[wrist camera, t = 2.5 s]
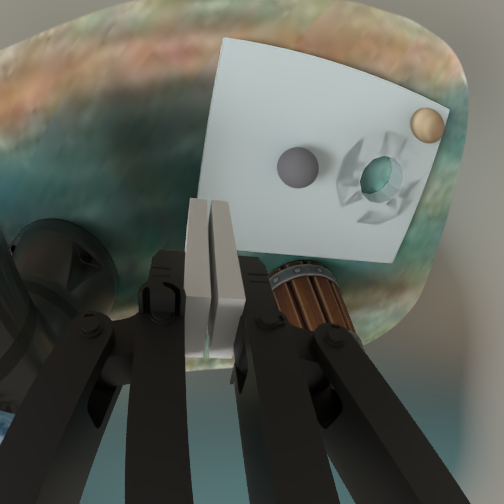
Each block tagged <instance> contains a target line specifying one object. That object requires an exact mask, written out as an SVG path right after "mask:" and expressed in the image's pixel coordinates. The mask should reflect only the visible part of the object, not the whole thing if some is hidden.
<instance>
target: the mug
mask: <svg viewBox="0 0 504 504" xmlns="http://www.w3.org/2000/svg"><path fill="white" fill-rule="evenodd" d="M268 278H269V281H270V285H271V288H272V291H273V295H274V298H275V302H276V305H277V309H278V310H279V311H281V312H282V313H283V314H284V315H285V316H286V317H287V319H288V321H289V323H290V324H292V325H294V326H297V327H299V328H303V329H307V330H311V331H315V329H316V328H317V327H318V325H321V324H323V323H334V324H338V325H340V326H342V327H344V328H346V329H347V330H348V331H349V332H350V333H351V334H352V336H353V337H354V338H355V340H356V341H357V342H358V344H359V345H360V346H361V348H362V349H363V350H364V348H363V345H362V342H361V340H360V338H359V336H358V335H357V334H356V332H355V329H354V327H353V324H352V321H351V319H350V316H349V314H348V311H347V309H346V306H345V303H344V301H343V298H342V294H341V289H340V287H339V284H338V282H337V280H336V278H335V277H334V275H333V274H332V273H331V271H330V270H329V269H328V268H327V267H324V266H322V265H321V264H319V263H317V262H312V261H297V262H292V263H289V264H286V265H284V266H281V267H279V268H278V269H276V270H274V271H273V272H272V273H270V274H269V275H268ZM364 352H365V350H364Z"/></svg>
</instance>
